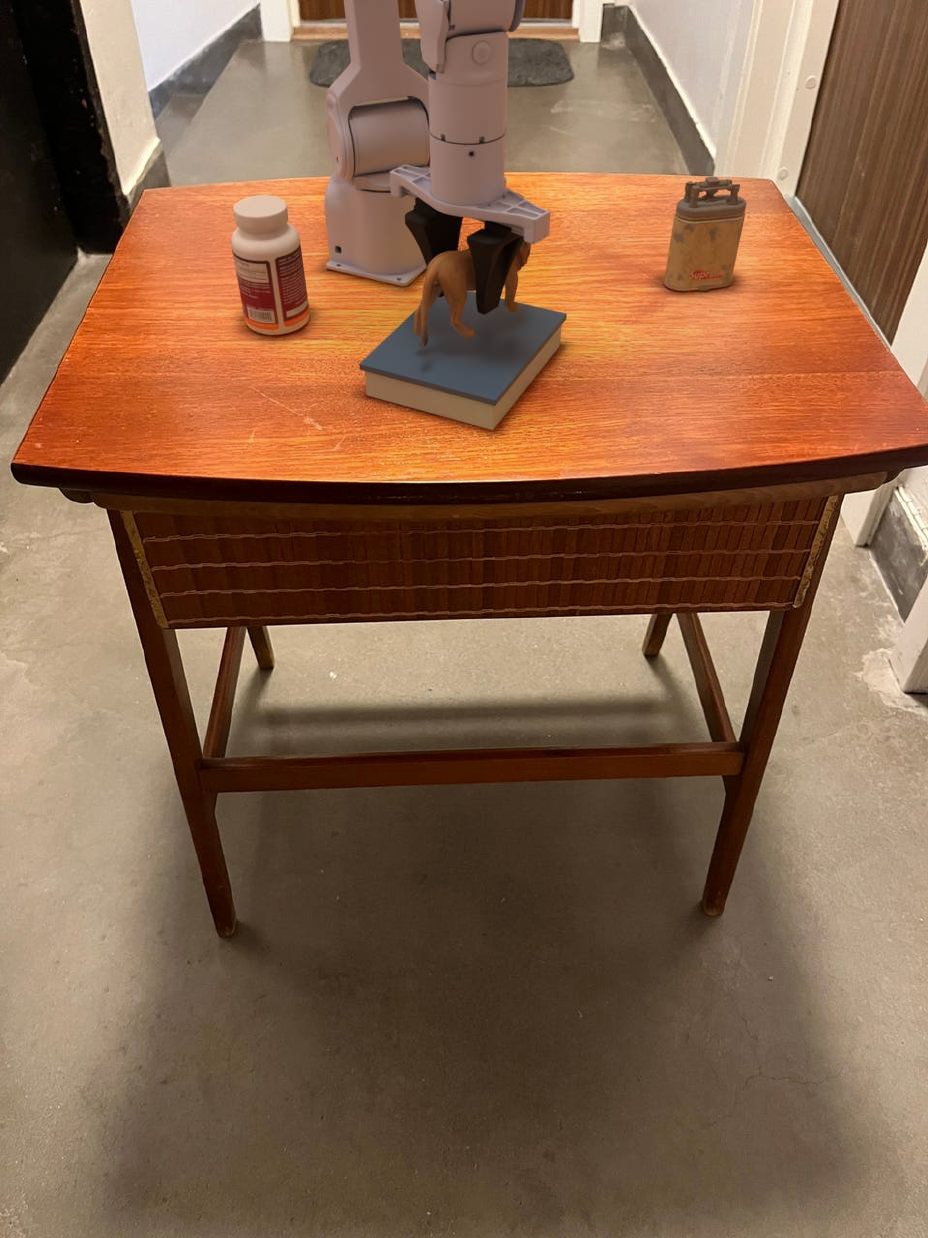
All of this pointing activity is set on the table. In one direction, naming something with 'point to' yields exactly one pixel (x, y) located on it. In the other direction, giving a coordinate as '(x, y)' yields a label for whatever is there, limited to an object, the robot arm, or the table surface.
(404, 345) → the blue book
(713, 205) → the lighter
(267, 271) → the pill bottle
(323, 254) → the table surface
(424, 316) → the lion figurine
